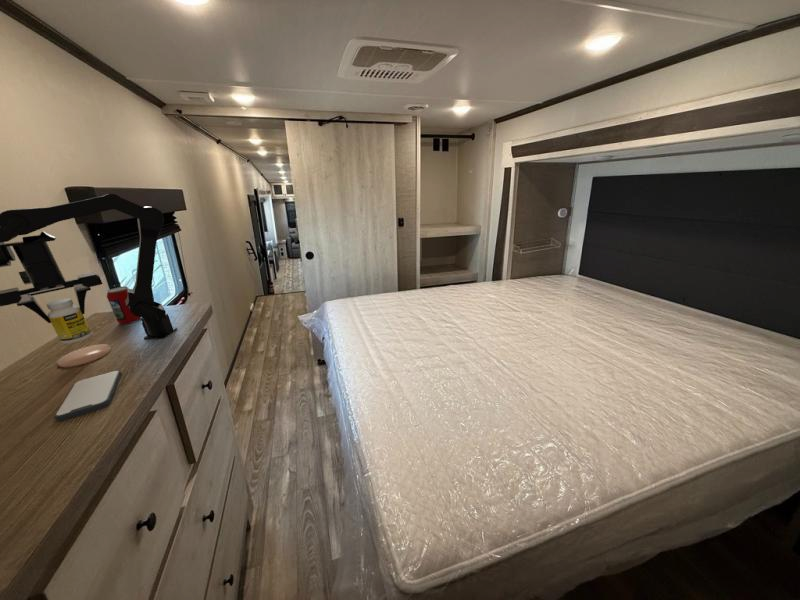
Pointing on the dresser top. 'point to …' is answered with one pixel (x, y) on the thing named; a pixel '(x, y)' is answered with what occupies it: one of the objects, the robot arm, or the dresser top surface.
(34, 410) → the dresser top surface
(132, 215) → the robot arm
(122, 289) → the beverage can
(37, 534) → the dresser top surface
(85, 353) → the tan round disc
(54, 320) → the pill bottle
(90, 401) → the phone case
